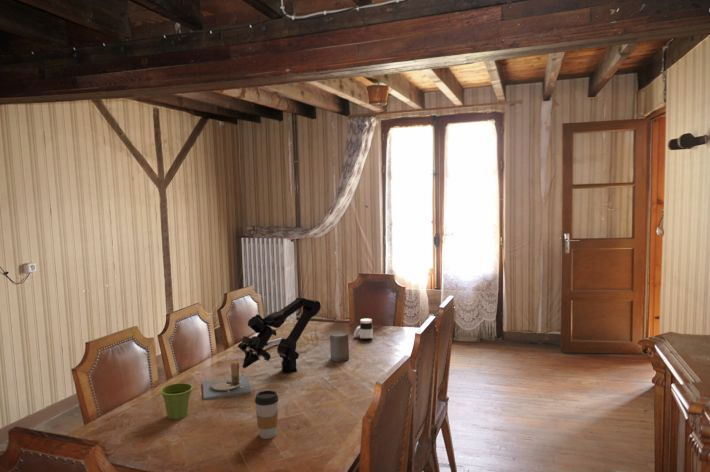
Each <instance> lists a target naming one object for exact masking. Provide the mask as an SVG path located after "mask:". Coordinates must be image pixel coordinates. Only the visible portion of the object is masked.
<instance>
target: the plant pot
mask: <svg viewBox="0 0 710 472" xmlns="http://www.w3.org/2000/svg"><path fill="white" fill-rule="evenodd" d="M193 388H194V387H193V385H192V384H191V383H187V382H175V383H170V384H168V385H165V386H163V387H161V389H160V393H161V394H162V398H163V400H164V404H165V410H166V414H167V418H168V419H170V420H181V419H184V418H185V417H186V416H188V411H189V403H190V397H191V392H192V389H193Z"/></svg>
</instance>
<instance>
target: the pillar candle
mask: <svg viewBox="0 0 710 472" xmlns="http://www.w3.org/2000/svg"><path fill="white" fill-rule="evenodd" d="M329 341H330V343H329V346H330V360H331V361H333V362H336V363H337V362H338V363H339V362H340V363H342V362H346V361H348V360H350V353H349V352H350V350H349V348H350V346H349V345H350V343H349V332H348V331H345V330H338V331H337V330H336V331H332V332H330V333H329Z"/></svg>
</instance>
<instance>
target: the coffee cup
mask: <svg viewBox="0 0 710 472" xmlns="http://www.w3.org/2000/svg"><path fill="white" fill-rule="evenodd" d="M254 403H255V409H256V410H255V413H256V421H257V430H258V435H259V437H260V438H261V439H265V440H267V439H272V438H274V437H276V435H277V432H278V418H279V417H278V415H279V408H278V407H279V405H278V404H279V395H278V394H277V392H276V391H274V390H261V391H259V392H257V393H256V395H255V397H254Z"/></svg>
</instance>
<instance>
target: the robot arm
mask: <svg viewBox="0 0 710 472" xmlns="http://www.w3.org/2000/svg"><path fill="white" fill-rule="evenodd" d="M301 308H302V313H301V315H300V317H299V318H298V320H297V322H295V325H294V326H293V328H292V330H291V332H290V333H289V335H288V336H287V337H286V338H284V337H281V338H282V339H281V341H280V343H279V344H277V348H276V351H277V354H278V355H279V358H281V359H282V360H281V361H280V365H281V367H280V368H281V371H282V372H283V373H284V374H289V373H294V372H298V369H297V360H298V359H299V357H300V355H299V353H298V352H297V351H296V350H297V342H298V340H299V339H300V337H301V335H302V333H303V332H304V330H305V329H306V327H307V326H308V323H310V320H311V319H312V318H313V317H315V316H316V315H317V314H318V313H320V311H321V308H322V305H321V302H320V301H318V300H315V299H307V298H305V297H303V296H302V297H301V296H298V297H296V298H295V299H294V300H292V301H291V302H289V304H287V305H286V306H284V307H283V308H281V309H280V310H278V311H274V312H272V313H270V314H268V315H266V317H264V318H263V317H262V316H261V315H260V314H255V315H254V316H252V317H251V318H250V319H249V320H248V322H247V326H248V327H249V328H250V329H251V330H252V331H253V332H254V333H255V334H257V335H256V336H251V337H249V336H246V335H243V337H242V340H241V342H239V343H238V344H237V348H238V349H240V350H241V351H242V352H243V353H244V359H243V364H242V369H246V368H248V367H249V366H251V365H252V364H254V363H256V362H257V361H261V357H263V359H264V360H265V361H266V362H269V361H270V360H271V355H272V354H270V353H269V352H268V351H267V350H265V348H264V347H265V346H268V344H267V342H268V341H270V338H271V337H272V336H277V335H278V334H277V329H279V328H281V326H282V325H284V323H285V321H286V320H287V319H288V317H290V316H291V315H293V314H294V313H296V312H297V311H298V310H300V309H301Z"/></svg>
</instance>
